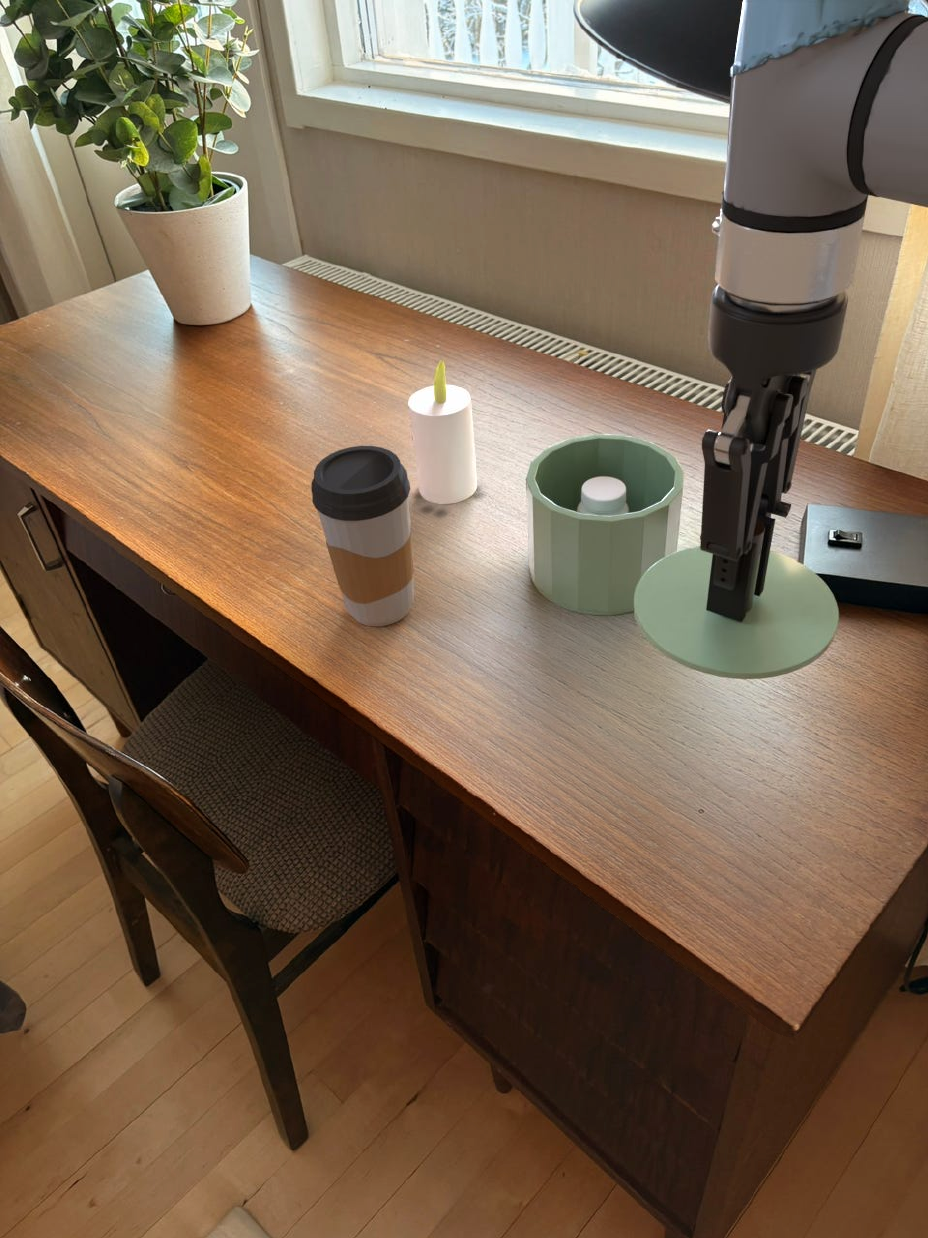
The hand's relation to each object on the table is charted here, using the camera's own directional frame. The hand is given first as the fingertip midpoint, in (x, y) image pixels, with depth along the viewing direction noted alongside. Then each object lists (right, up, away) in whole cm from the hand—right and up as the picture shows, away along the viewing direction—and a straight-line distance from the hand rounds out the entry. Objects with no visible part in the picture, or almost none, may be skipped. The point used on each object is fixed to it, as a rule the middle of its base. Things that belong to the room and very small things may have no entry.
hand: (734, 599), depth 69 cm
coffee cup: (-28, 0, +19) cm, 33 cm away
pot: (-7, +3, +20) cm, 22 cm away
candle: (-22, +13, +33) cm, 41 cm away
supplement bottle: (-7, +4, +20) cm, 22 cm away
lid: (0, -1, +1) cm, 1 cm away
